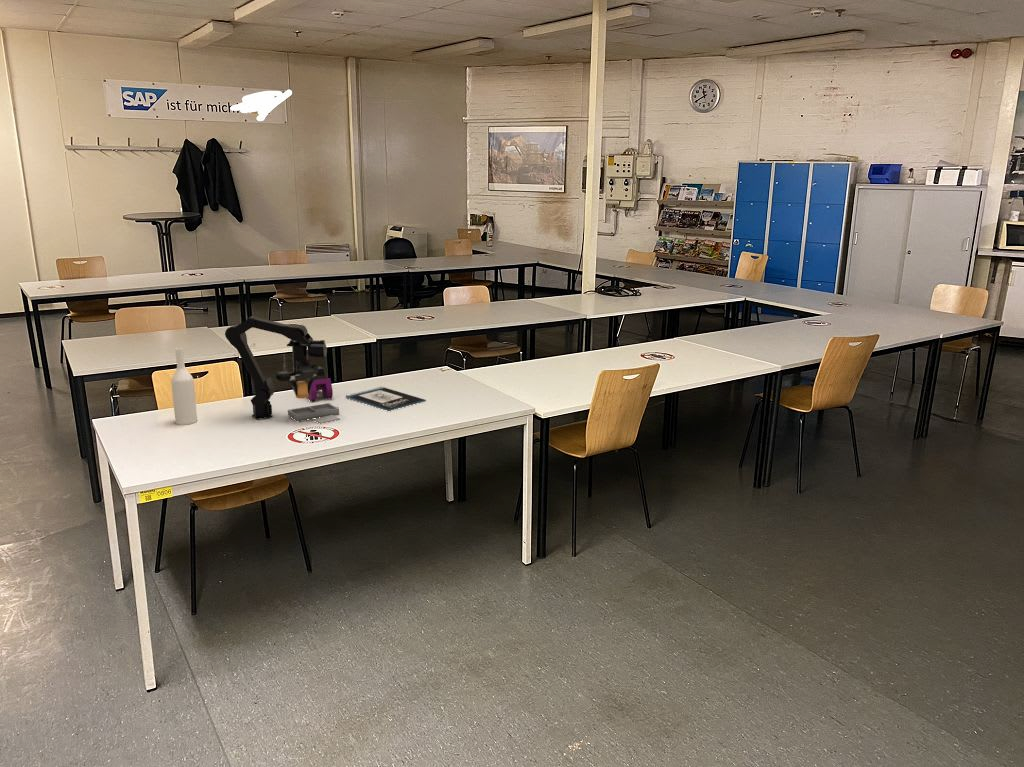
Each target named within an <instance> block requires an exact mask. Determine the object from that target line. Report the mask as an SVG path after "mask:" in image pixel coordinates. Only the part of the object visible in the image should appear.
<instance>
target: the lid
mask: <svg viewBox="0 0 1024 767" xmlns="http://www.w3.org/2000/svg"><path fill="white" fill-rule="evenodd" d="M313 420H314V421H316V422H318V423H317V424H319V423H320V424H319V425H322V424H321V423H324V424H327V423H326V422H328V423H332V422H335V420H336V421H340V420H341V418H340V417H338V416H337V415H329V416H325V417H320V418H316V419H312V421H313ZM314 421H313V422H314ZM331 421H332V422H331ZM316 422H315V423H316Z"/></svg>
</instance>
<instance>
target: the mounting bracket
mask: <svg viewBox="0 0 1024 767" xmlns="http://www.w3.org/2000/svg"><path fill="white" fill-rule="evenodd" d="M332 386H333V385H332V380H331V378H330V377H328V378H322V379H321V378H320V379H315V380H314V381H313V383H312V385H311V388H310V391H309V393H308V394H309V397H308V398H307V400H308V399H309V400H310V401H309V400H308V401H309V402H315V400H316V401H317V399H318V392H319V391H321V393H322V396H323V398H324V399H325V400H329V399H330V400H331V399H332V398H333V397H334V396H333V393H334V392H333V387H332Z"/></svg>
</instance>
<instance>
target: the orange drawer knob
mask: <svg viewBox="0 0 1024 767" xmlns="http://www.w3.org/2000/svg"><path fill="white" fill-rule="evenodd" d="M296 385H297V395H295V398H296V399H308V397H309V394H308V384H307V381H306V380H299V381H298V380H297V383H296Z"/></svg>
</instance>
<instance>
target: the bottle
mask: <svg viewBox="0 0 1024 767" xmlns="http://www.w3.org/2000/svg"><path fill="white" fill-rule="evenodd" d="M184 356H185V355H184V349H183V347H175V357H176V369H175V371H174V373H173V375H172V377H171V379H170V380H171V382H170V383H171V392H172V401H173V411H174V421H175V423H176V425H181V426H182V425H183V426H186V425H192V424H195V423H197V422H198V413H197V411H198V410H197V404H196V402H197V401H196V392H195V383H194V382H195V381H194V377H193V376H192V374H191V373H190V372H189V371H188V369H187V368H186V366H185V358H184Z"/></svg>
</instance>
